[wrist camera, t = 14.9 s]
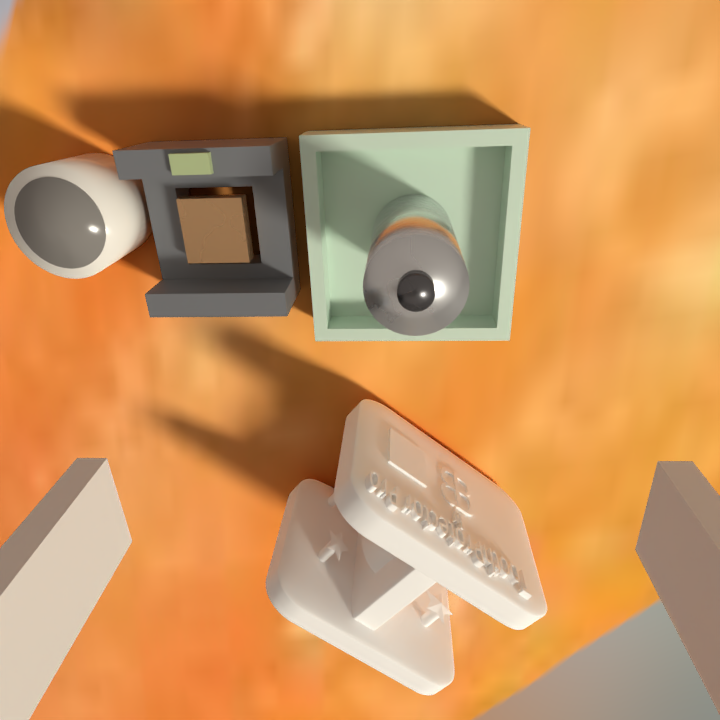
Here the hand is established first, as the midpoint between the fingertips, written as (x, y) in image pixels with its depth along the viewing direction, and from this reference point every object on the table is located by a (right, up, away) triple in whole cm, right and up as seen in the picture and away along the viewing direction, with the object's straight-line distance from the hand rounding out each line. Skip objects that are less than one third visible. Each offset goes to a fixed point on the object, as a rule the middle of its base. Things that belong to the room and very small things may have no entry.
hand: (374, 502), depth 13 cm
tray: (+3, +11, +19) cm, 23 cm away
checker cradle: (-8, +12, +20) cm, 25 cm away
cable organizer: (+3, -6, +28) cm, 29 cm away
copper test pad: (-8, +11, +18) cm, 23 cm away
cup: (-16, +13, +20) cm, 29 cm away
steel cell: (+3, +11, +18) cm, 22 cm away
